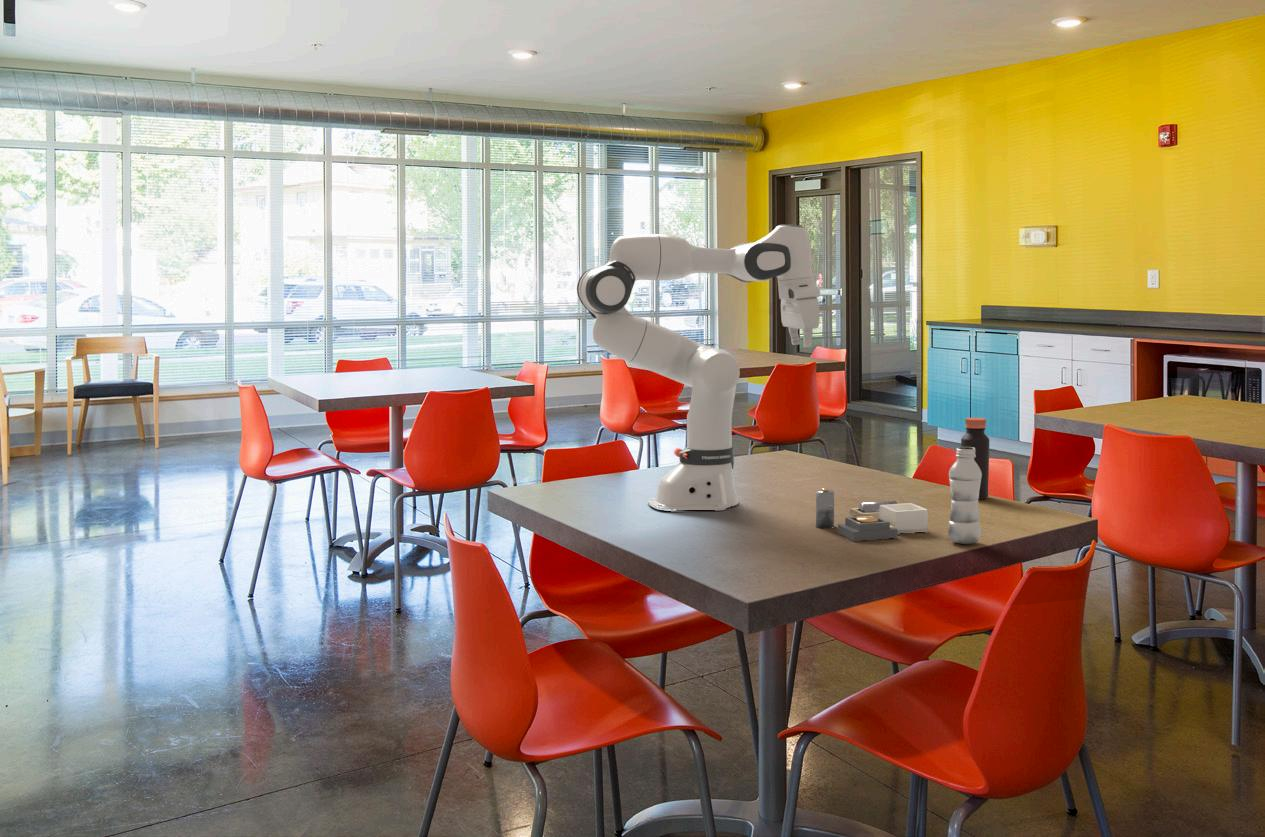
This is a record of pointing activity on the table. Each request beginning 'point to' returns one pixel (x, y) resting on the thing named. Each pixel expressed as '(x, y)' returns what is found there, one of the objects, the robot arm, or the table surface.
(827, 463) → the table surface
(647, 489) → the table surface
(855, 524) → the cradle
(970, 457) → the plastic bottle
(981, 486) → the vinegar
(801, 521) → the table surface
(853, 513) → the trough
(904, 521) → the white square box
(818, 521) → the cylinder
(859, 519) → the copper disc
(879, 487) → the table surface
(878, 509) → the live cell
